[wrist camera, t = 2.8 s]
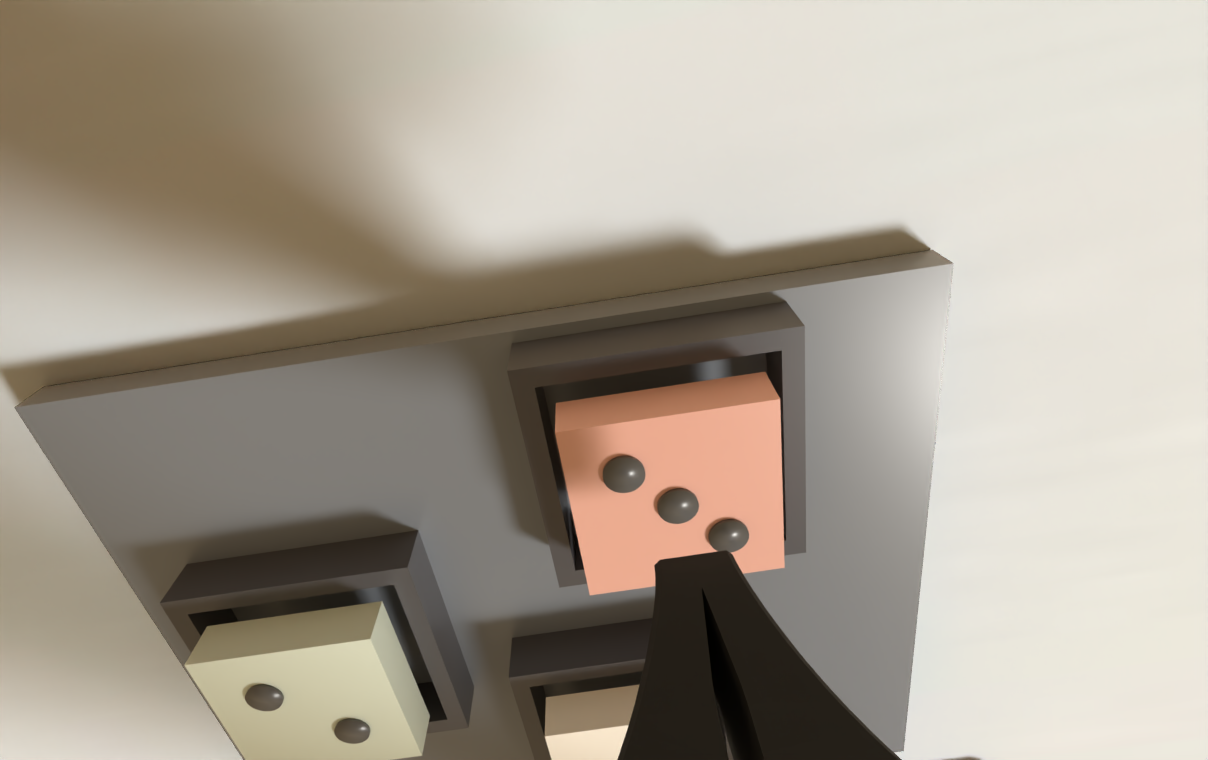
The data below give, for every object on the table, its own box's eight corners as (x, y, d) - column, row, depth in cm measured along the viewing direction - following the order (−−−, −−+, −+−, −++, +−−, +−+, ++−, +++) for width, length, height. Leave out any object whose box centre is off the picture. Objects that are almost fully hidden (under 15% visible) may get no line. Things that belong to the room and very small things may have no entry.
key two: (430, 715, 20) (421, 759, 19) (273, 737, 20) (255, 781, 19) (382, 601, 17) (369, 642, 16) (207, 626, 18) (182, 668, 16)
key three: (771, 533, 17) (785, 570, 16) (588, 560, 17) (589, 598, 16) (764, 371, 15) (781, 401, 14) (555, 402, 15) (555, 435, 14)
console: (891, 724, 25) (921, 790, 23) (300, 804, 25) (276, 876, 23) (932, 249, 16) (986, 285, 14) (43, 386, 17) (-32, 440, 15)
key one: (716, 772, 22) (724, 814, 20) (572, 791, 22) (572, 834, 21) (705, 675, 19) (714, 716, 18) (546, 697, 20) (544, 740, 18)
